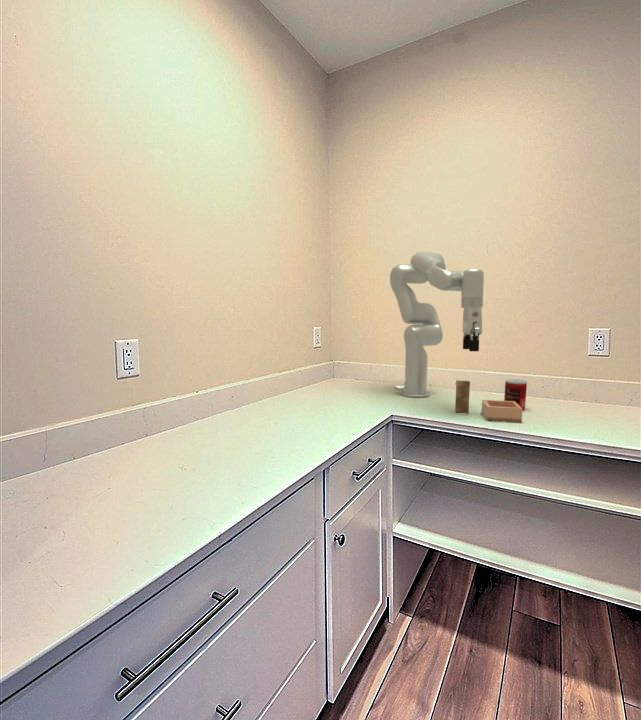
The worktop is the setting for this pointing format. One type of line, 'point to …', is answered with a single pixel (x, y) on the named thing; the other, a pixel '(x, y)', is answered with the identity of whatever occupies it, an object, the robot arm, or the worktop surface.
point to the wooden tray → (501, 411)
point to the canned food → (516, 391)
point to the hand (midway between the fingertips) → (470, 350)
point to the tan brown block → (462, 396)
